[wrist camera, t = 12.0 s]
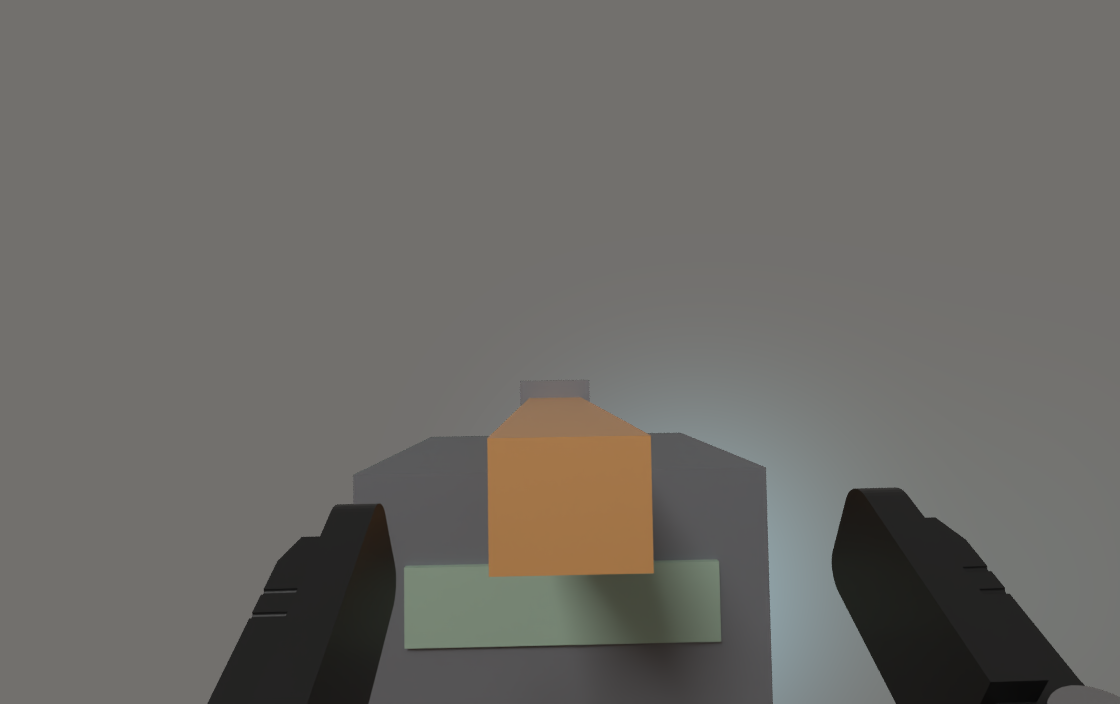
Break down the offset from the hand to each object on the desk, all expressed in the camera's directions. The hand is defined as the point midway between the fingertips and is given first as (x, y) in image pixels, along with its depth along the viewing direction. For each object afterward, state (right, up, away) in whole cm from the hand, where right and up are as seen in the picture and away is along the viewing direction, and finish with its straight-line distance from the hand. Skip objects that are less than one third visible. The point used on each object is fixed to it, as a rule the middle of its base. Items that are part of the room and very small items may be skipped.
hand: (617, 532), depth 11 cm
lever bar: (-1, -1, +15) cm, 15 cm away
